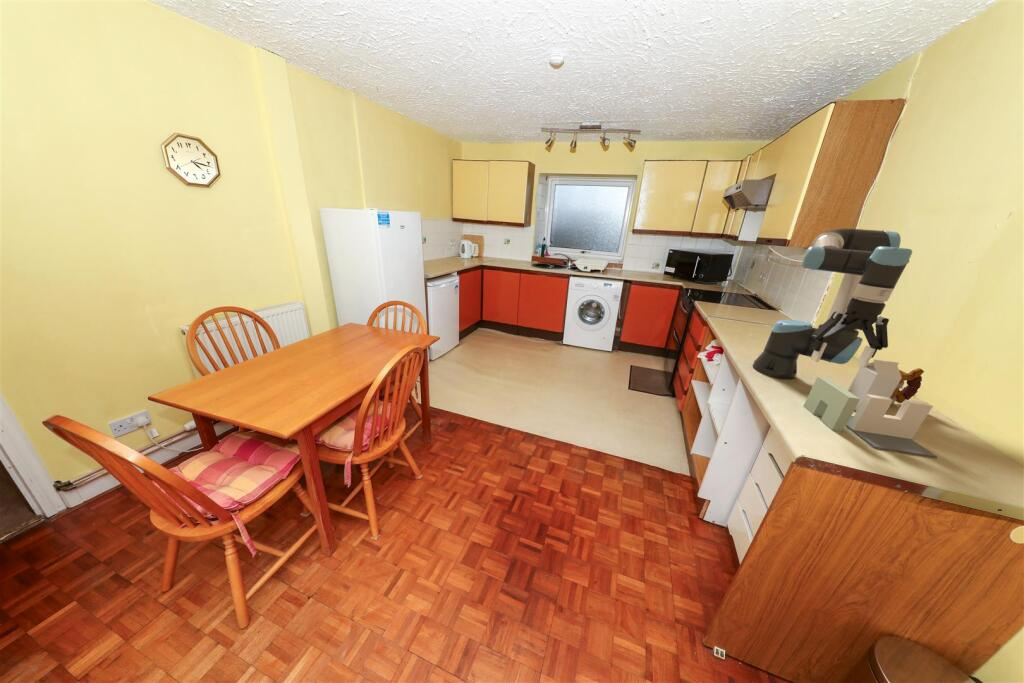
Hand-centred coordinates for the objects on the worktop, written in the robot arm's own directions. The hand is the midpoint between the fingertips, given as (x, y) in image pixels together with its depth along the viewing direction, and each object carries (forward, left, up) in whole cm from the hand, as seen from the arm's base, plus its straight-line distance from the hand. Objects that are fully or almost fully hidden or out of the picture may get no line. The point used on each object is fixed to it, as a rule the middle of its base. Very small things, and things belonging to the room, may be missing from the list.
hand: (837, 363), depth 106 cm
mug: (-18, +34, -19) cm, 42 cm away
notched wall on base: (+9, +13, -18) cm, 24 cm away
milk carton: (-8, +20, -19) cm, 28 cm away
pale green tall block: (+4, 0, -18) cm, 19 cm away
